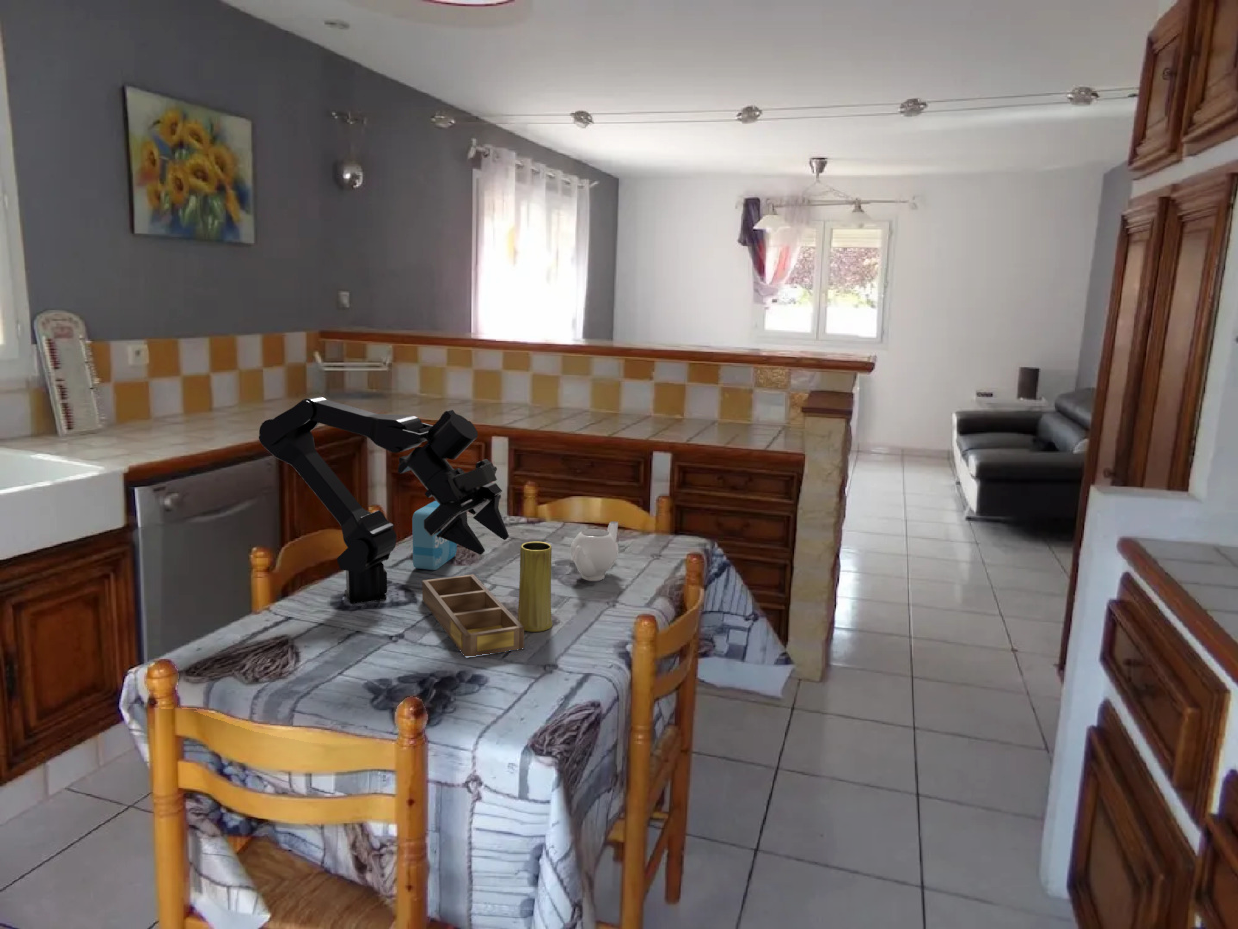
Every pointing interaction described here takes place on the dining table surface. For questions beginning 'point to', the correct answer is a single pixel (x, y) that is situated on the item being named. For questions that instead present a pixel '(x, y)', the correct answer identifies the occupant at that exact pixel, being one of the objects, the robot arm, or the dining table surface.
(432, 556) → the data package
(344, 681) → the dining table surface
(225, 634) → the dining table surface
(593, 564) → the teapot
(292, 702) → the dining table surface
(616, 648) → the dining table surface
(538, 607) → the vase
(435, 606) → the rack
